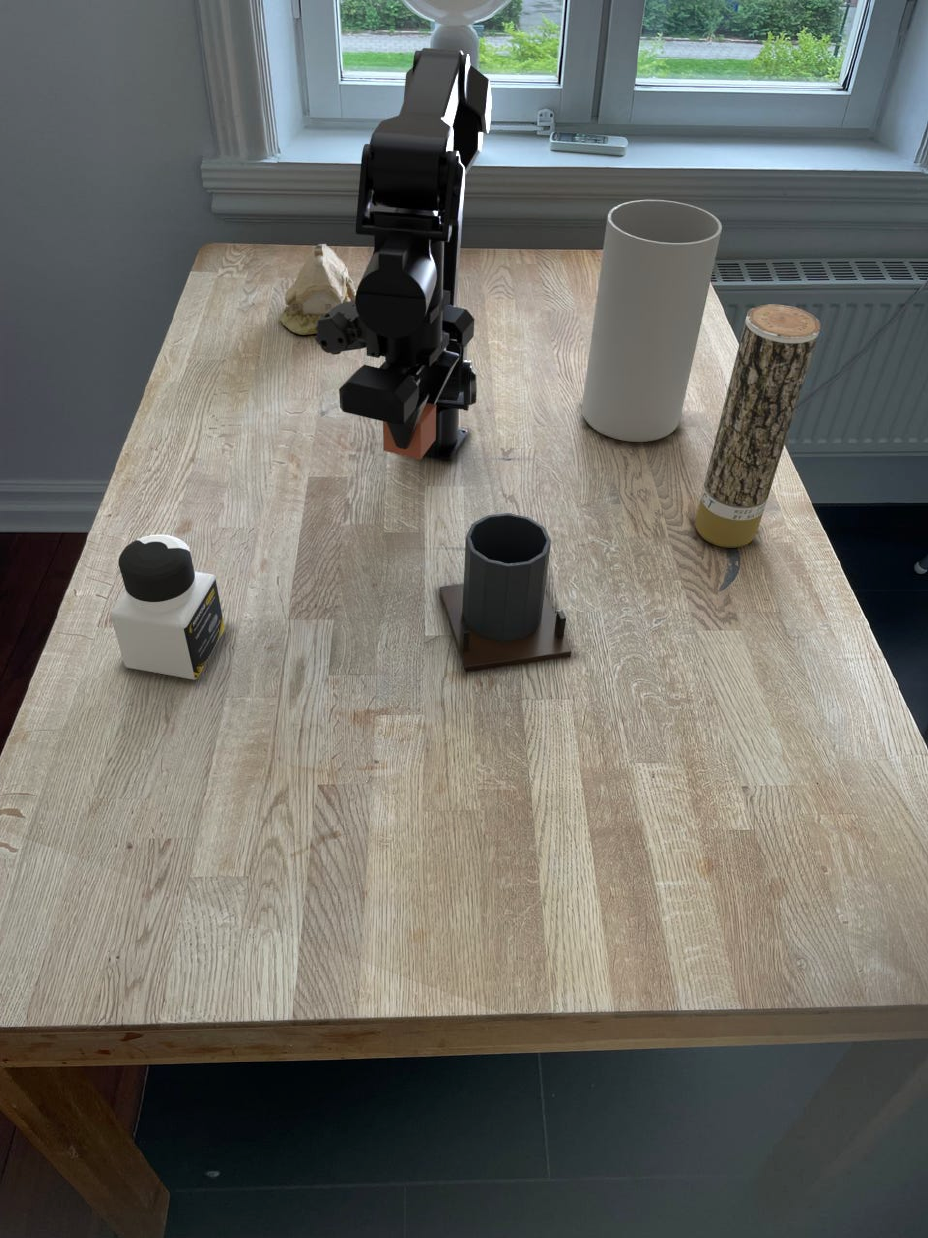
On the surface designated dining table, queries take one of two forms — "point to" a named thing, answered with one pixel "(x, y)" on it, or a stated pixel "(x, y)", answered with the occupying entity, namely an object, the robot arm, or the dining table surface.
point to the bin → (505, 576)
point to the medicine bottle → (166, 609)
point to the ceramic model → (317, 291)
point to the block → (415, 435)
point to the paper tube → (755, 422)
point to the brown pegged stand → (496, 654)
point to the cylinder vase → (648, 317)
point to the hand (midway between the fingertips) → (410, 436)
